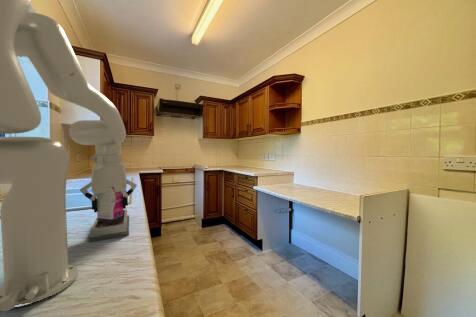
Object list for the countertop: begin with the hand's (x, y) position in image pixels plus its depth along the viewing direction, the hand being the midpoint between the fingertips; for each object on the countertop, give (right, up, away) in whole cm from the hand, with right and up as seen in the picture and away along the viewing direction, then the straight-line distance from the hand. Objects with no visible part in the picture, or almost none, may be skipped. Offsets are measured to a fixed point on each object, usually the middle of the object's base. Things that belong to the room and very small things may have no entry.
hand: (110, 209), depth 70 cm
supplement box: (0, -3, 0) cm, 3 cm away
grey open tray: (-1, -8, +3) cm, 9 cm away
